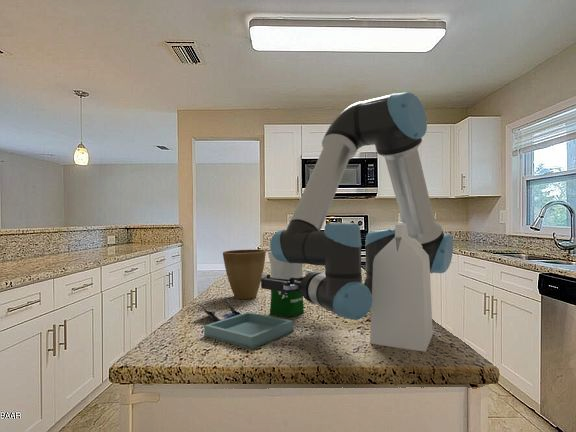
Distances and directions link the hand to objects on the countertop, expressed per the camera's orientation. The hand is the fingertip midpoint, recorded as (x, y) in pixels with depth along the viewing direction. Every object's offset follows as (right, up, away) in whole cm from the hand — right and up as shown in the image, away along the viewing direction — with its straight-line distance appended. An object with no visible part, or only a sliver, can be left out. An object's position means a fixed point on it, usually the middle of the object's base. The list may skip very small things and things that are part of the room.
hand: (285, 275), depth 108 cm
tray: (-8, -11, -17) cm, 22 cm away
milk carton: (0, -11, +1) cm, 11 cm away
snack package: (-17, -12, -5) cm, 21 cm away
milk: (+27, -11, -22) cm, 36 cm away
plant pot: (-14, -11, +23) cm, 30 cm away
